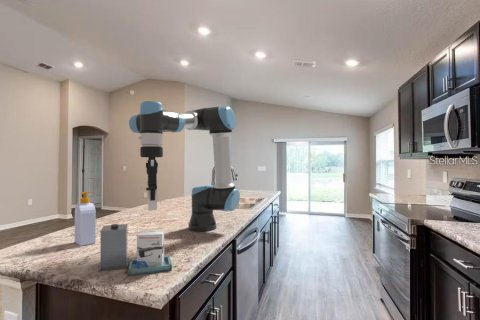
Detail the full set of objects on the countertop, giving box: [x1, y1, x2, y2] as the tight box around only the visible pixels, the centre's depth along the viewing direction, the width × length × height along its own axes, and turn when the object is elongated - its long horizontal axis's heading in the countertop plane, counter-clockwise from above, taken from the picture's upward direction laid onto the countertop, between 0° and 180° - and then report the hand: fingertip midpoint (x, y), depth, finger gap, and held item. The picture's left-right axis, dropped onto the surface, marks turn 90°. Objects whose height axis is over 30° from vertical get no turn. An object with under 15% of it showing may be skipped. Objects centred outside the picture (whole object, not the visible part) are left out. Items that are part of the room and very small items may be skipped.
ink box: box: [136, 229, 165, 268], centre depth 95 cm, size 8×5×12 cm, turn 98°
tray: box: [128, 255, 173, 277], centre depth 95 cm, size 14×10×2 cm
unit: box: [98, 223, 130, 272], centre depth 98 cm, size 9×9×14 cm
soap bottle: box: [74, 191, 97, 247], centre depth 124 cm, size 9×7×23 cm
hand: (152, 206), depth 96 cm, fingers open, 13 cm apart
